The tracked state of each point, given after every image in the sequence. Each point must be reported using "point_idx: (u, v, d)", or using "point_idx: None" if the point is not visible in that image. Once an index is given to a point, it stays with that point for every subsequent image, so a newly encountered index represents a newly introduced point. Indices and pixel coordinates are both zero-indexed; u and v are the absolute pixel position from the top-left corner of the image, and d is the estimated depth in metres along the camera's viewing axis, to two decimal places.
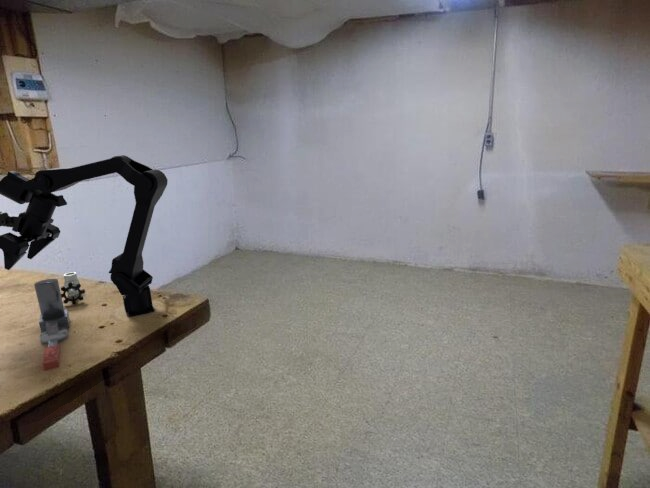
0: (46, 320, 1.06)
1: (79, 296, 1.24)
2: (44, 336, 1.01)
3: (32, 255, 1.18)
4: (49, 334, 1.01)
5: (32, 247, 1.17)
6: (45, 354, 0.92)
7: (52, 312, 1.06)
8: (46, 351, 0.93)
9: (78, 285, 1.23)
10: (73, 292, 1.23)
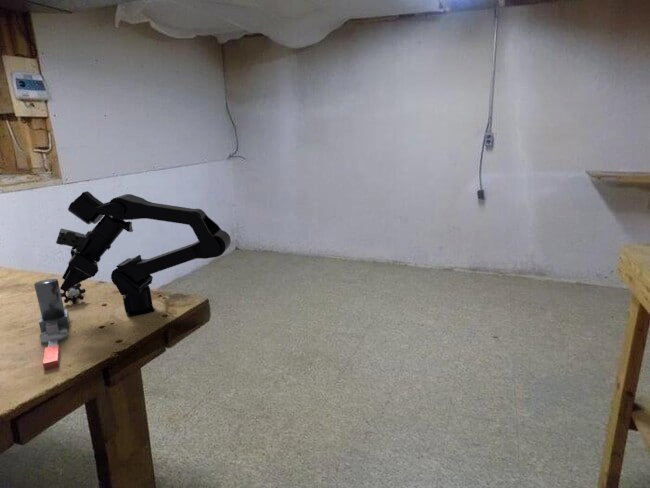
0: (46, 320, 1.06)
1: (79, 295, 1.24)
2: (44, 336, 1.01)
3: None
4: (49, 334, 1.01)
5: None
6: (45, 354, 0.92)
7: (52, 312, 1.06)
8: (46, 351, 0.93)
9: (78, 284, 1.23)
10: (73, 291, 1.23)
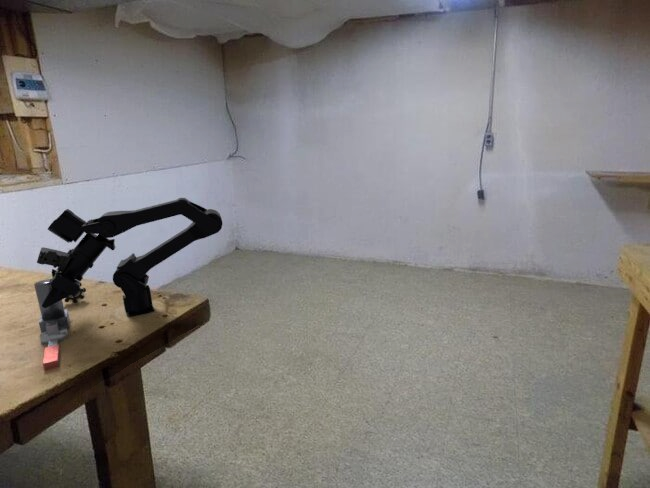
0: (46, 320, 1.06)
1: (80, 295, 1.25)
2: (44, 336, 1.01)
3: None
4: (49, 334, 1.01)
5: None
6: (45, 354, 0.92)
7: (52, 312, 1.06)
8: (46, 351, 0.93)
9: None
10: None
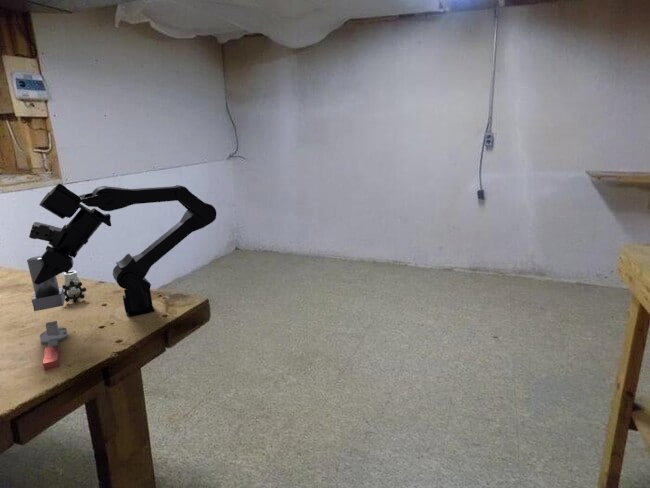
0: (39, 297, 1.02)
1: (80, 294, 1.25)
2: (44, 336, 1.01)
3: None
4: (49, 334, 1.01)
5: None
6: (45, 354, 0.92)
7: (46, 289, 1.03)
8: (46, 351, 0.93)
9: (79, 283, 1.24)
10: (74, 290, 1.24)
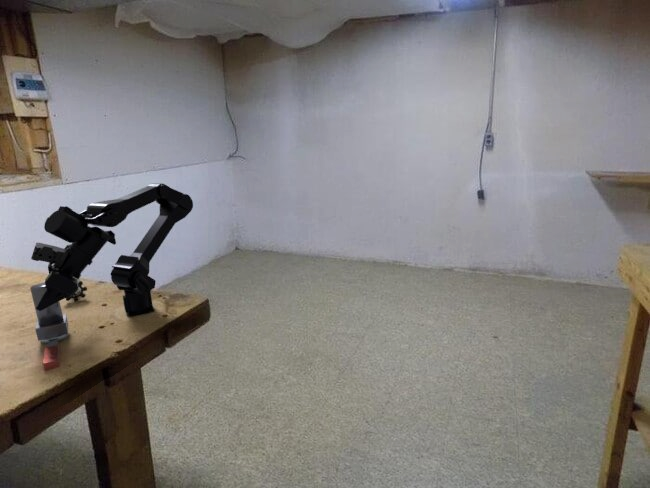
0: (43, 326, 0.99)
1: (81, 293, 1.26)
2: None
3: None
4: None
5: None
6: (45, 354, 0.92)
7: (50, 318, 0.99)
8: (46, 351, 0.93)
9: (80, 282, 1.25)
10: None
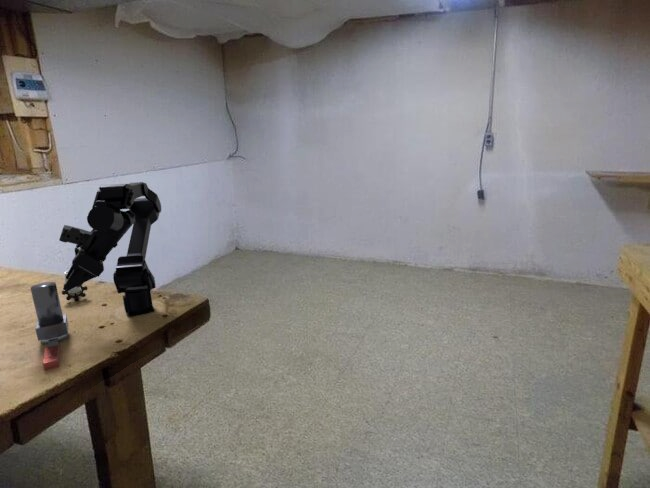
0: (43, 326, 0.99)
1: (81, 293, 1.26)
2: None
3: None
4: None
5: None
6: (45, 354, 0.92)
7: (50, 318, 0.99)
8: (46, 351, 0.93)
9: None
10: (76, 289, 1.25)
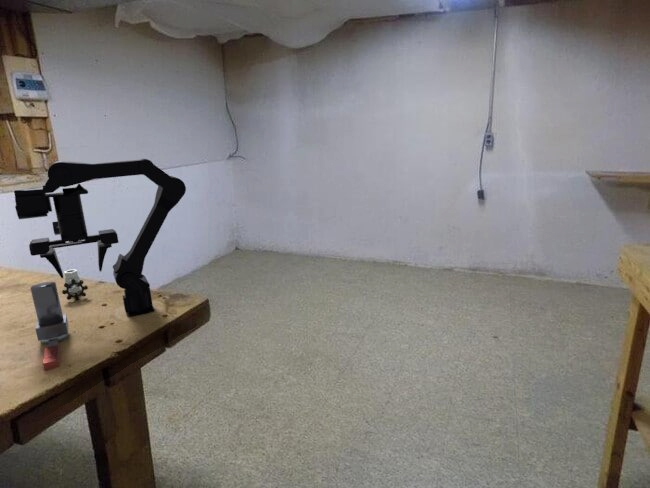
0: (43, 326, 0.99)
1: (82, 292, 1.27)
2: None
3: None
4: None
5: (98, 258, 1.10)
6: (45, 354, 0.92)
7: (50, 318, 0.99)
8: (46, 351, 0.93)
9: (81, 281, 1.26)
10: (76, 288, 1.26)
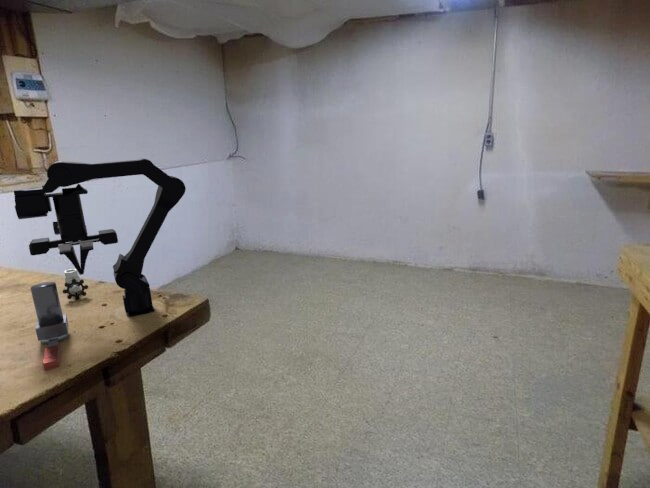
0: (43, 326, 0.99)
1: (82, 291, 1.27)
2: None
3: None
4: None
5: None
6: (45, 354, 0.92)
7: (50, 318, 0.99)
8: (46, 351, 0.93)
9: (81, 281, 1.26)
10: (76, 288, 1.26)
